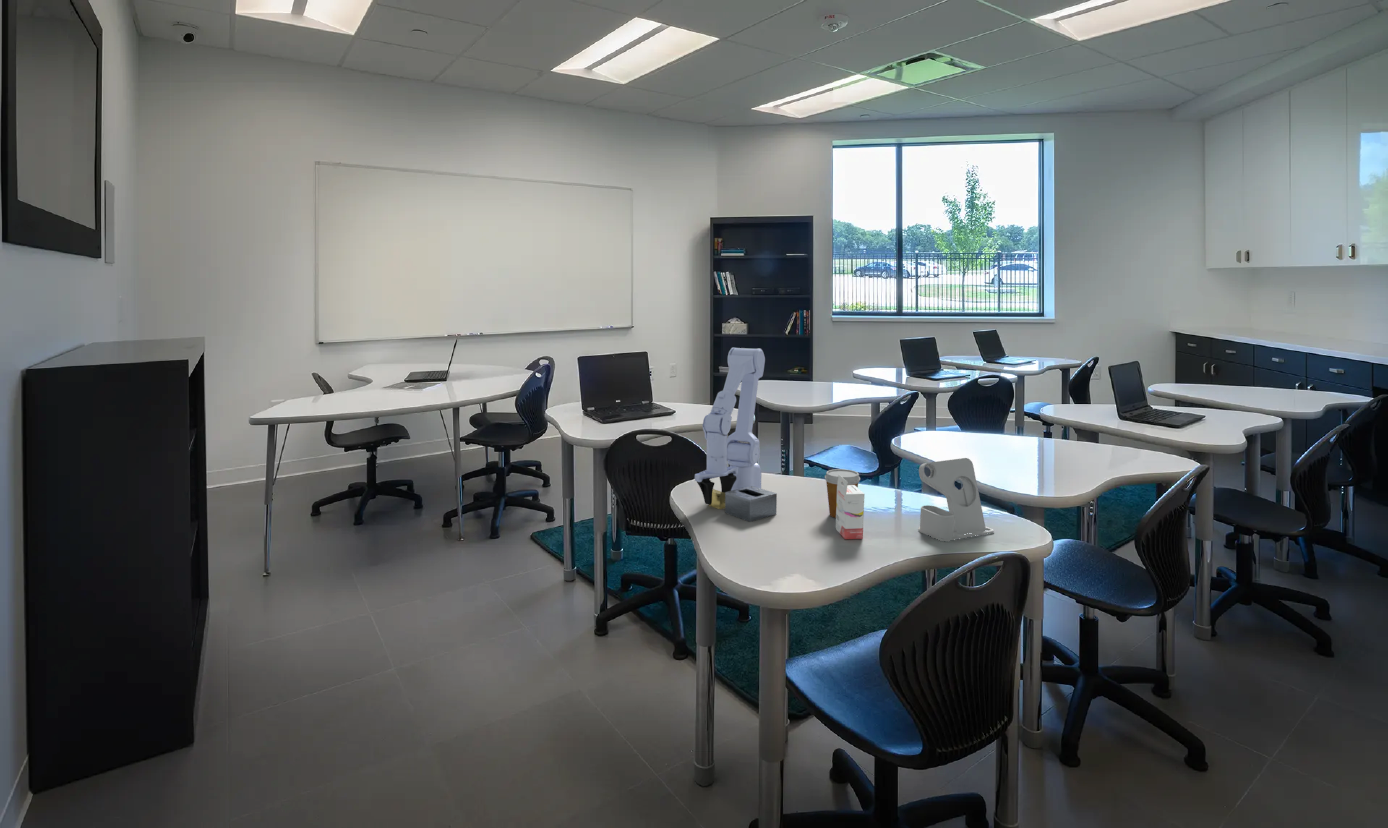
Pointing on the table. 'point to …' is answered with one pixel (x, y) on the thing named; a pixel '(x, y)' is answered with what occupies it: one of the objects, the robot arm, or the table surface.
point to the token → (718, 499)
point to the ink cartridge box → (849, 510)
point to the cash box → (750, 503)
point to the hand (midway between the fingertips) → (716, 501)
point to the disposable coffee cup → (832, 482)
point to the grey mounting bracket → (953, 502)
